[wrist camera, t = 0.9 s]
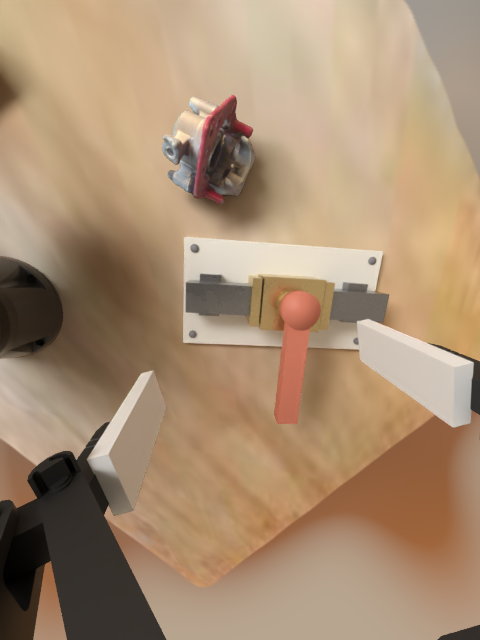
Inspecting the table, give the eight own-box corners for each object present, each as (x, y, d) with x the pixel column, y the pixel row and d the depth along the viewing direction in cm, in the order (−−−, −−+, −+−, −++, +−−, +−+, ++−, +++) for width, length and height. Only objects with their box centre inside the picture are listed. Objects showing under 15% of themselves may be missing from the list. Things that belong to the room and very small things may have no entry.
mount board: (184, 340, 40) (182, 343, 39) (185, 237, 36) (184, 236, 35) (359, 347, 42) (364, 350, 41) (378, 251, 39) (384, 251, 37)
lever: (280, 289, 30) (285, 291, 28) (315, 291, 30) (323, 293, 28) (267, 413, 34) (270, 424, 32) (298, 413, 34) (304, 424, 32)
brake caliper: (246, 225, 33) (176, 176, 23) (195, 207, 39) (123, 161, 29) (285, 137, 31) (226, 40, 21) (225, 132, 36) (157, 54, 27)
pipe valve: (190, 313, 39) (182, 328, 31) (191, 268, 37) (182, 271, 29) (358, 321, 41) (393, 337, 33) (366, 280, 40) (405, 285, 31)
